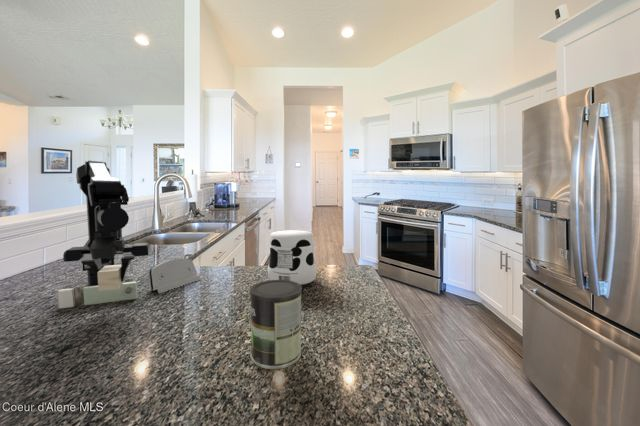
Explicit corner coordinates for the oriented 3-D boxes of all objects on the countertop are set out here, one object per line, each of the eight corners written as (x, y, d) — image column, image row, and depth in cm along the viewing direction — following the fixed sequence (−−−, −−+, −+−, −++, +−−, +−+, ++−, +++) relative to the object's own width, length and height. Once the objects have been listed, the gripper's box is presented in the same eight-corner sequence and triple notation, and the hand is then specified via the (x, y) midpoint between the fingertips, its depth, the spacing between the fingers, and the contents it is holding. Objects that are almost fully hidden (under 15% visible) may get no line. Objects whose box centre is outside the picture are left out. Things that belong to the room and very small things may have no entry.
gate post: (76, 304, 85) (75, 286, 85) (84, 303, 86) (82, 285, 86) (74, 306, 84) (72, 288, 83) (81, 305, 84) (80, 287, 84)
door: (85, 303, 86) (84, 286, 86) (137, 297, 91) (136, 281, 91) (82, 306, 84) (81, 289, 83) (136, 300, 89) (135, 283, 88)
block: (105, 283, 83) (104, 265, 83) (124, 281, 85) (123, 264, 85) (98, 291, 77) (97, 272, 76) (119, 288, 79) (117, 270, 78)
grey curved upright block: (158, 293, 94) (150, 263, 95) (150, 296, 96) (142, 266, 97) (201, 279, 109) (195, 253, 109) (194, 282, 111) (187, 256, 112)
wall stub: (61, 306, 84) (60, 289, 83) (75, 304, 85) (74, 287, 85) (59, 308, 82) (57, 291, 82) (73, 306, 84) (72, 289, 83)
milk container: (305, 273, 117) (305, 228, 115) (324, 286, 101) (324, 235, 100) (262, 279, 109) (261, 231, 108) (276, 294, 94) (275, 238, 92)
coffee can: (247, 371, 55) (245, 297, 53) (254, 342, 65) (253, 280, 64) (302, 368, 55) (302, 296, 54) (301, 340, 66) (301, 278, 64)
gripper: (51, 232, 68) (56, 297, 70) (143, 228, 76) (146, 287, 77) (69, 226, 79) (73, 283, 80) (149, 223, 86) (152, 275, 87)
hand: (112, 282), depth 81 cm, fingers closed on block, 4 cm apart
